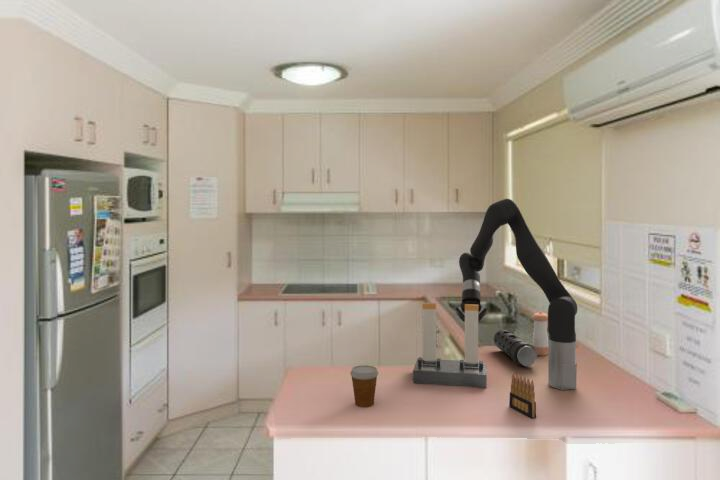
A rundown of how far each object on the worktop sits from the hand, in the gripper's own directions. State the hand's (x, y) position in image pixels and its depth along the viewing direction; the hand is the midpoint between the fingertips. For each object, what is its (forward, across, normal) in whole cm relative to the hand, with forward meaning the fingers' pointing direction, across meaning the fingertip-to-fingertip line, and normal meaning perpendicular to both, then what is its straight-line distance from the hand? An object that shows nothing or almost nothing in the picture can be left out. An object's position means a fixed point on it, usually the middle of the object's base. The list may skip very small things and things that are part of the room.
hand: (470, 329), depth 200 cm
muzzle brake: (-6, -18, -33) cm, 38 cm away
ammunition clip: (+36, -17, +9) cm, 41 cm away
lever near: (+12, 0, -6) cm, 13 cm away
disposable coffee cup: (+38, +35, +11) cm, 53 cm away
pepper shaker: (-15, -31, -41) cm, 54 cm away
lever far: (+12, +16, -6) cm, 21 cm away
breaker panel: (+16, +8, -11) cm, 21 cm away
